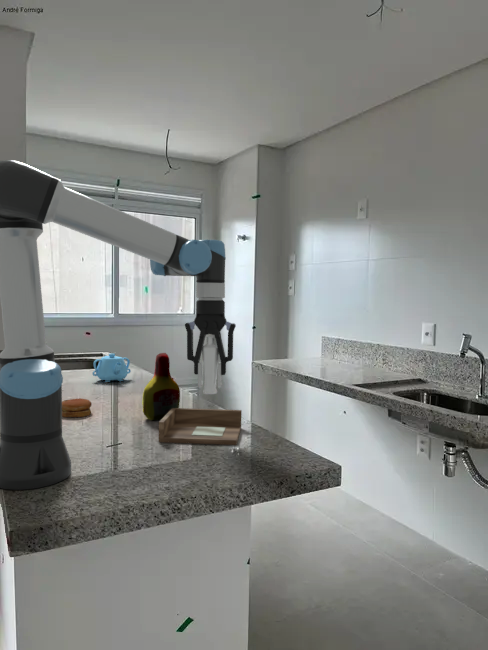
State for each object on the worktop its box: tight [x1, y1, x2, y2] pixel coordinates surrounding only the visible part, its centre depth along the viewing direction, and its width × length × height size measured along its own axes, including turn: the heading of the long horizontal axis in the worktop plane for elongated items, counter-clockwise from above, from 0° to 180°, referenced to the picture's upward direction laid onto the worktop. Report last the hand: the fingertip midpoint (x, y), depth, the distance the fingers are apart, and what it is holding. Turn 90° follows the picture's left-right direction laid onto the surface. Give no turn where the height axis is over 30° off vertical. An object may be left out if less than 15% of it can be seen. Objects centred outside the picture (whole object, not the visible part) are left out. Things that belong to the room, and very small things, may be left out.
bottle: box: [141, 352, 181, 421], centre depth 150 cm, size 12×6×20 cm, turn 119°
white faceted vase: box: [201, 336, 219, 395], centre depth 131 cm, size 5×4×15 cm
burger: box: [62, 397, 92, 418], centre depth 154 cm, size 10×9×5 cm
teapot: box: [92, 353, 131, 383], centre depth 212 cm, size 20×17×12 cm
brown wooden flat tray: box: [158, 407, 242, 446], centre depth 133 cm, size 16×20×5 cm
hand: (209, 386), depth 131 cm, fingers closed on white faceted vase, 5 cm apart
